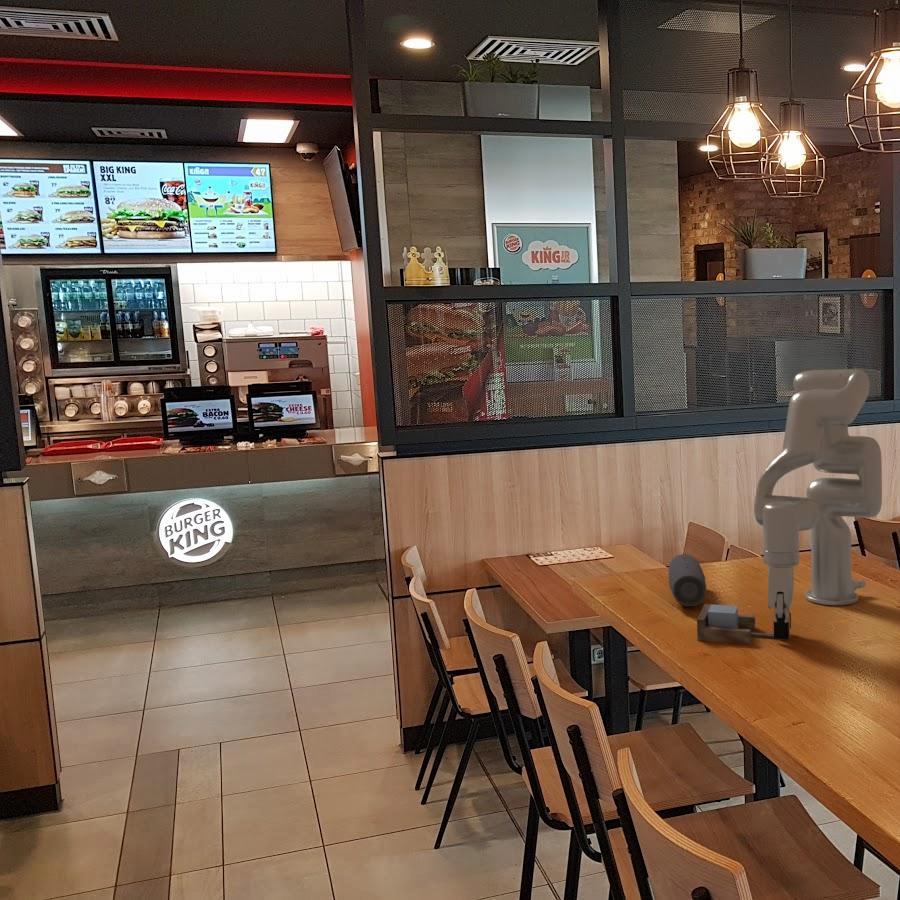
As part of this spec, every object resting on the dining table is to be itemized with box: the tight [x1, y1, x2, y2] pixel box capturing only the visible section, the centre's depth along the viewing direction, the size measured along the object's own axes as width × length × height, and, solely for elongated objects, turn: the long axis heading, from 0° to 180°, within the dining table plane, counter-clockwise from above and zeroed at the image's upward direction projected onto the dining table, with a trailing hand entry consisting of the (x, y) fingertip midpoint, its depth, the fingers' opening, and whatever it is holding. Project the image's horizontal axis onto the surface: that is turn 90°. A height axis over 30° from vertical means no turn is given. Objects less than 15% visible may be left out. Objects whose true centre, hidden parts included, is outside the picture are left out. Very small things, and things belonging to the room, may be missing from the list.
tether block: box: [708, 604, 791, 641], centre depth 205 cm, size 18×6×7 cm, turn 66°
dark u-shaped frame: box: [696, 603, 756, 645], centre depth 207 cm, size 12×12×5 cm
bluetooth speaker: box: [668, 553, 707, 607], centre depth 237 cm, size 23×9×10 cm, turn 168°
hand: (782, 633), depth 203 cm, fingers open, 6 cm apart
